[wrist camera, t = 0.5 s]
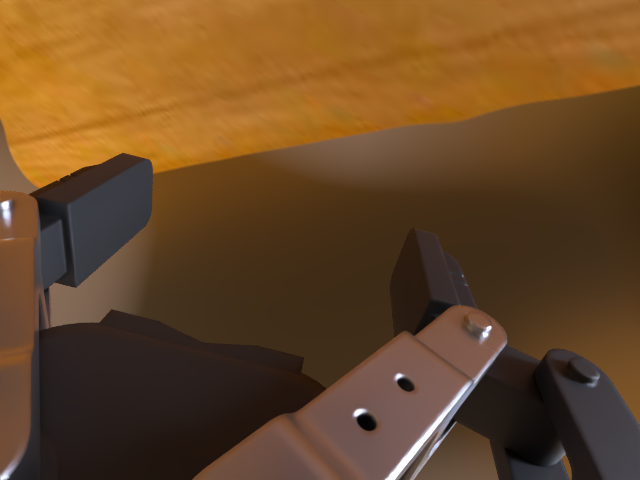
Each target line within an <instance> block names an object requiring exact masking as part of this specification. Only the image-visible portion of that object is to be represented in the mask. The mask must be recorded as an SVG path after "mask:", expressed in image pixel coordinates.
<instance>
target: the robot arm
mask: <svg viewBox="0 0 640 480" xmlns="http://www.w3.org/2000/svg"><path fill="white" fill-rule="evenodd" d="M152 176H153V168H152V163H151V161H150V160H149V159H145V158H141V157H137V156H133V155H129V154H125V153H121V154H119V155H117V156H115V157H113V158H111V159H109V160H107V161H105V162H103V163H101V164H98V165H93V166H89V167H84V168H82V169H79V170H77V171H75V172H73V173H71V174H70V176H69V175H67V176H65V177H63V178H61V179H60V180H59V181H55V182H53V183H51V184H49V185H47V186H45V187H43V188H40V189H38V190H37V191H34V192H33V193H30V194H25V193H21V192H15V191H0V480H414V478H415V477H416V476H417V474H418V473H419V471H420V470H421V469H422V467H423V466H424V464H425V463H426V462H427V461H428V459H429V458H430V457H431V455H432V454H433V453H434V451H435V450H436V449H437V447H438V446H439V445H440V443H441V442H442V441H443V439H444V438H445V437H446V435H447V434H448V433H449V431H450V430H451V428H452V427H453V426H454V425H455V423H456V422H458V423H460V424H462V425H464V426H466V427H468V428H469V429H471V430H473V431H475V432H477V433H479V434H481V435H482V436H484V437H486V438H488V439H489V440H490V445H491V449H492V453H493V457H494V461H495V465H496V469H497V474H498V478H499V480H570V479H569V476H568V474H567V471H566V469H565V466H564V464H563V461H562V459H561V458H562V457H563V456H564V455H565V454H566V455H567V458H568V460H569V463H570V466H571V470H572V480H640V425H639V423H638V422H637V420H636V419H635V417H634V416H633V414H632V412H631V411H630V409H629V408H628V406H627V405H626V403H625V402H624V400H623V398H622V397H621V395H620V394H619V392H618V391H617V389H616V387H615V386H614V384H613V383H612V381H611V380H610V379H609V378H608V376H607V375H606V374H605V373H604V372H603V371H602V370H601V369H599V368H598V367H597V366H596V365H594V364H593V363H592V362H590V361H589V360H587V359H585V358H584V357H582V356H580V355H578V354H576V353H573V352H571V351H567V350H564V349H552V350H549V351H548V352H547V353H546V355H545V356H544V358H543V359H542V360H541V361H539V360H537V359H535V358H533V357H531V356H529V355H526V354H524V353H522V352H520V351H518V350H516V349H514V348H512V347H510V346H508V345H507V344H506V343H507V335H506V332H505V331H504V329H503V328H502V327H501V326H500V324H499V323H498V322H497V321H496V320H494V319H493V318H492V317H490V316H489V315H487V314H486V313H484V312H482V311H480V310H478V309H477V306H476V304H475V301H474V299H473V296H472V294H471V291H470V289H469V286H467V285H468V284H467V281H466V279H465V277H464V274H463V271H462V269H461V266H460V264H459V263H458V262H457V261H456V260H455V259H454V258H453V257H452V256H451V255H450V254H449V253H444V252H443V251H442V248H441V245H440V242H439V239H438V237H437V234H434V233H430V232H426V231H422V230H418V229H415V228H412V229H411V230H410V231H409V233H408V235H407V238H406V240H405V243H404V245H403V248H402V250H401V253H400V255H399V258H398V260H397V263H396V265H395V268H394V271H393V274H392V277H391V283H390V296H391V307H392V318H393V329H394V339H393V340H391V341H390V342H388V343H387V344H386V345H384V346H383V347H382V348H380V349H379V350H378V351H376V352H375V353H374V354H372V355H371V356H370V357H368V358H367V359H366V360H364V361H363V362H362V363H361V364H359V365H358V366H357V367H356V368H354V369H353V370H351V371H350V372H349V373H347V374H346V375H345V376H343V377H342V378H341V379H339V380H338V381H337V382H336V383H334V384H333V385H332V386H330V387H329V388H328V389H326V388H325V387H324V386H322V385H321V384H320V383H319V382H317V381H315V380H314V379H312V378H311V377H309V376H307V375H305V374H303V373H301V370H302V365H303V359H304V358H303V357H300V356H296V355H292V354H288V353H284V352H280V351H276V350H272V349H268V348H264V347H260V346H253V345H233V344H213V343H212V344H211V343H204V342H200V341H198V340H196V339H194V338H192V337H190V336H188V335H186V334H184V333H182V332H180V331H178V330H176V329H174V328H172V327H170V326H168V325H166V324H163V323H162V322H160V321H156V320H152V319H148V318H144V317H140V316H136V315H132V314H128V313H124V312H120V311H116V310H111V311H110V312H109V313H108V314H107V315H106V316H105V317H104V318H103V319H102V320H101V322H100V323H76V324H67V325H62V326H56V327H52V317H51V296H50V289H49V286H51V285H52V284H53V283H54V282H55V283H59V284H63V285H67V286H71V287H75V288H76V287H77V286H79V285H80V284H81V283H82V282H83V281H84V280H85V279H86V278H88V277H89V276H90V275H91V274H92V273H93V272H94V271H95V270H96V269H98V268H99V267H100V266H101V265H102V264H103V263H104V262H106V260H108V259H109V258H110V257H111V256H112V255H113V254H115V252H117V251H118V250H119V249H120V248H121V247H122V246H124V245H125V244H126V243H127V242H128V241H129V240H130V239H131V238H133V237H134V236H135V235H136V234H137V233H138V232H139V231H140V230H141V229H143V228H144V227H145V226H146V224H147V222H148V221H149V218H150V215H151V211H152V178H153V177H152Z"/></svg>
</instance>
